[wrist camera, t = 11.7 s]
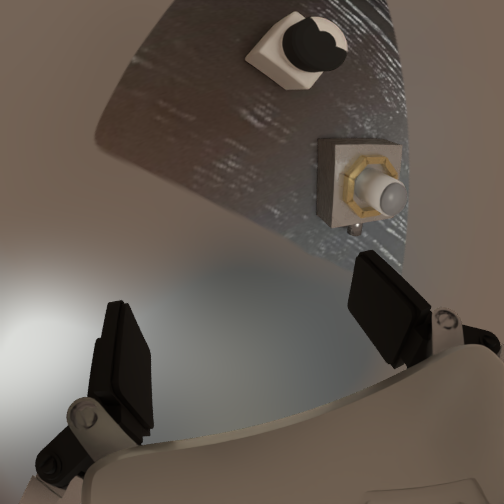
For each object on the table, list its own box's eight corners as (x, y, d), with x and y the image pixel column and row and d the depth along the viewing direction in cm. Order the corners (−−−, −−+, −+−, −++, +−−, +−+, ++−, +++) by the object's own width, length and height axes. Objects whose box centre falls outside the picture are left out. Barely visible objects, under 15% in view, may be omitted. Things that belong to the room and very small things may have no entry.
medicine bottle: (286, 91, 32) (331, 90, 22) (243, 59, 29) (273, 42, 19) (315, 55, 30) (367, 45, 20) (274, 23, 27) (316, -3, 17)
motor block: (317, 138, 37) (340, 146, 32) (382, 138, 39) (407, 147, 34) (315, 231, 45) (333, 250, 40) (374, 221, 47) (394, 237, 42)
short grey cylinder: (356, 169, 35) (383, 182, 30) (383, 167, 36) (411, 180, 31) (353, 202, 38) (378, 220, 33) (380, 199, 39) (405, 215, 34)
